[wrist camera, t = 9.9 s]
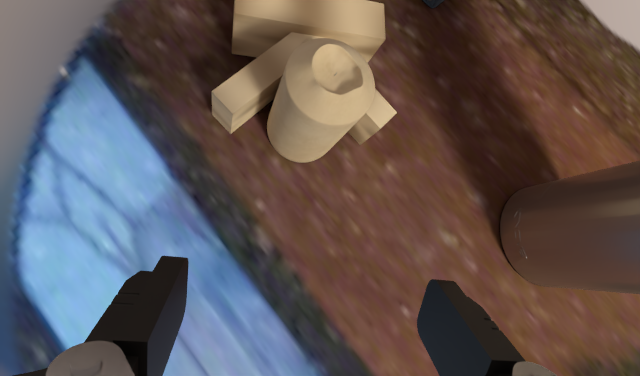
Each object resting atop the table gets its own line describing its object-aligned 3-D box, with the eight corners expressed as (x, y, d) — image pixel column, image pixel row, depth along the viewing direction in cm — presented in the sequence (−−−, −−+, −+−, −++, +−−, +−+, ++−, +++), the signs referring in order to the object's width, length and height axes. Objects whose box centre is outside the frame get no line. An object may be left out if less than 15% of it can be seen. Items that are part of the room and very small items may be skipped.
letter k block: (371, 43, 33) (398, 6, 28) (375, 146, 31) (404, 125, 26) (217, 17, 29) (217, -30, 24) (211, 132, 27) (210, 105, 22)
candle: (345, 129, 30) (403, 69, 21) (305, 177, 29) (349, 136, 19) (295, 85, 30) (330, 4, 20) (251, 131, 28) (268, 66, 19)
